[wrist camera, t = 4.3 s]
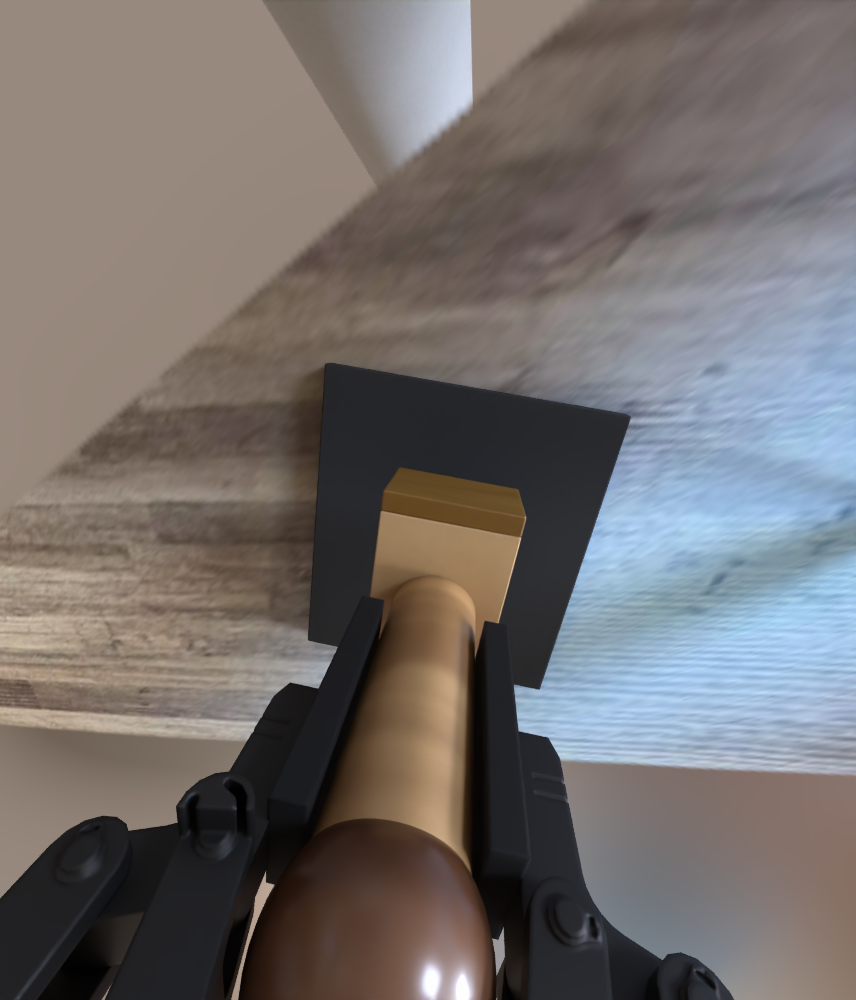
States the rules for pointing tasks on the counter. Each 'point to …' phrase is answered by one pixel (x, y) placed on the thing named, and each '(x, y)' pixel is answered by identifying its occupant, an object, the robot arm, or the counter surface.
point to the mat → (467, 455)
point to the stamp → (402, 774)
